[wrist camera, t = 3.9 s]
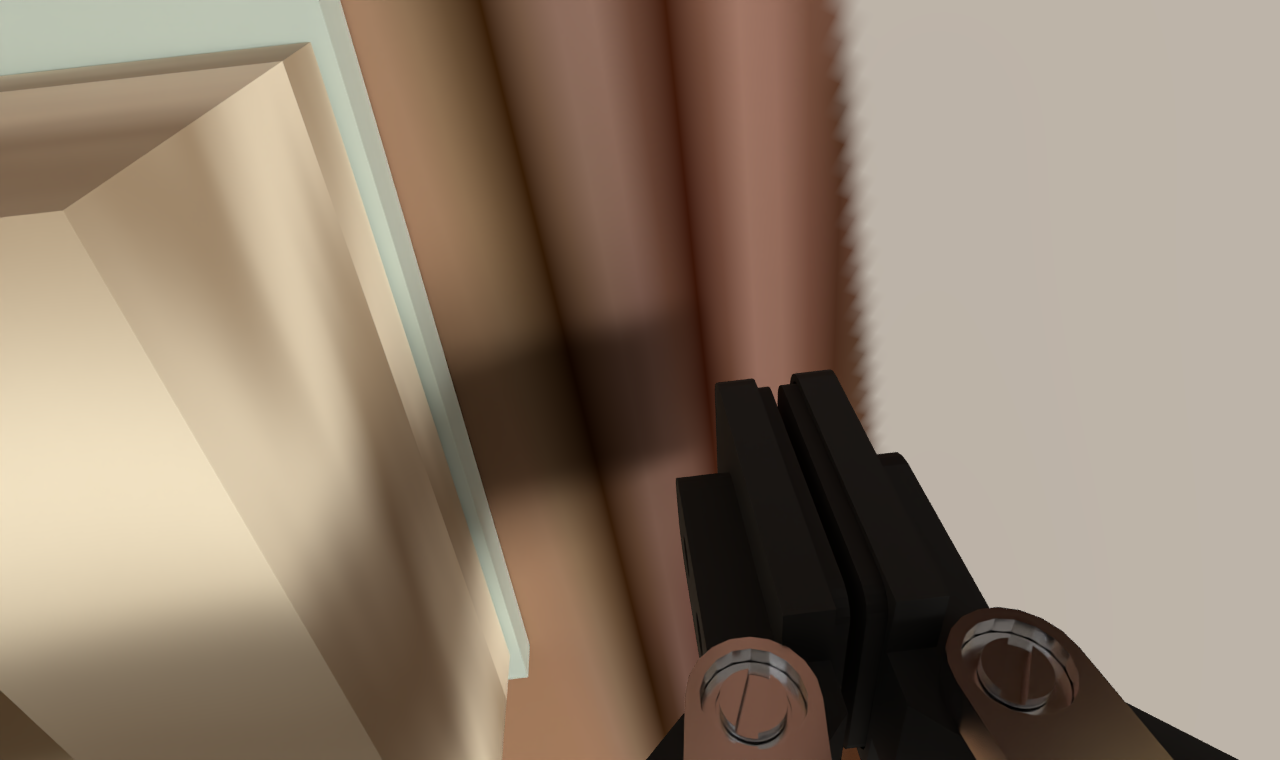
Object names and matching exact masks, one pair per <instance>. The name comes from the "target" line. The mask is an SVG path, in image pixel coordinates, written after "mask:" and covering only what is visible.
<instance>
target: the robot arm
mask: <svg viewBox="0 0 1280 760" xmlns="http://www.w3.org/2000/svg"><path fill="white" fill-rule="evenodd" d="M715 407H716V436H717V464H718V473H716V474H708V475H699V476H691V477H682V478H676V491H677V503H678V515H679V525H680V534H681V543H682V550H683V558H684V565H685V571H686V578H687V584H688V590H689V596H690V602H691V609H692V615H693V621H694V627H695V633H696V640H697V646H698V652H699V659H698V661H697V663H696V664H695V666H694V668H693V669H692V671H691V673H690V675H689V677H688V682H687V687H686V693H685V713H684V714H683V715H682V716H681V718H680V719H679V720H678V721H677V722H676V724H675V725H674V726H673V727H672V729H671V730H670V731H669V732H668V734H667V735H666V736H665V737H664V739H663V740H662V741H661V742H660V743H659V745H658V746H657V747H656V748H655V750H654V751H653V752H652V753H651V755H650V756H649V757H648V758H647V759H646V760H841V757H842V750H843V747H844V748H845V749H847V748H855V747H857V750H858V753H859V756H860V759H861V760H1238V759H1236V758H1234V757H1232V756H1230V755H1228V754H1226V753H1224V752H1222V751H1220V750H1218V749H1216V748H1214V747H1212V746H1210V745H1208V744H1206V743H1204V742H1202V741H1201V740H1199V739H1197V738H1195V737H1193V736H1191V735H1189V734H1187V733H1185V732H1183V731H1181V730H1179V729H1177V728H1175V727H1173V726H1171V725H1169V724H1167V723H1165V722H1163V721H1161V720H1159V719H1157V718H1155V717H1153V716H1151V715H1150V714H1148V713H1146V712H1144V711H1141V710H1140V709H1138V708H1136V707H1134V706H1132V705H1130V704H1128V703H1126V702H1125V701H1124V700H1123V699H1122V697H1121V696H1120V695H1119V694H1118V693H1117V692H1116V691H1115V689H1114V688H1113V687H1112V686H1111V685H1110V683H1109V682H1108V681H1107V680H1106V678H1105V677H1104V676H1103V675H1102V674H1101V672H1100V671H1099V670H1098V669H1097V668H1096V666H1095V665H1094V664H1093V663H1092V662H1091V661H1090V659H1089V658H1088V657H1087V656H1086V655H1085V653H1084V652H1083V651H1082V650H1081V648H1080V647H1078V645H1077V644H1076V643H1075V642H1073V641H1072V640H1071V639H1070V638H1069V637H1068V636H1067V635H1066V634H1065V633H1064V632H1063V631H1062V630H1060V629H1059V628H1057V627H1055V626H1054V625H1052V624H1050V623H1049V622H1047V621H1046V620H1044V619H1042V618H1040V617H1037V616H1035V615H1032V614H1029V613H1026V612H1024V611H1021V610H1016V609H1009V608H1002V607H993V608H989V607H988V605H987V603H986V601H985V599H984V598H983V596H982V594H981V592H980V591H979V589H978V587H977V585H976V584H975V582H974V580H973V578H972V576H971V575H970V573H969V571H968V569H967V568H966V566H965V564H964V562H963V560H962V559H961V557H960V555H959V553H958V552H957V550H956V548H955V546H954V544H953V543H952V541H951V539H950V537H949V536H948V534H947V532H946V530H945V528H944V527H943V525H942V523H941V521H940V519H939V518H938V516H937V514H936V512H935V511H934V509H933V507H932V505H931V503H930V502H929V500H928V498H927V496H926V495H925V493H924V491H923V489H922V487H921V486H920V484H919V482H918V480H917V479H916V477H915V475H914V473H913V472H912V470H911V468H910V466H909V464H908V463H907V461H906V460H905V459H904V457H903V456H902V455H901V454H899V453H898V452H895V453H885V454H876V452H875V450H874V448H873V446H872V444H871V443H870V441H869V439H868V437H867V435H866V433H865V431H864V429H863V427H862V425H861V423H860V421H859V419H858V417H857V416H856V414H855V412H854V410H853V408H852V406H851V404H850V402H849V400H848V398H847V396H846V394H845V392H844V390H843V388H842V387H841V385H840V383H839V381H838V379H837V377H836V375H835V373H834V372H833V371H832V370H822V371H813V372H805V373H796V374H793V375H792V377H791V381H790V384H787V385H780V386H779V389H778V407H777V404H776V402H775V399H774V396H773V394H772V391H771V389H770V387H762V388H758V387H757V385H756V382H755V380H754V379H745V380H736V381H728V382H719V383H716V384H715Z"/></svg>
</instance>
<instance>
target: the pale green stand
mask: <svg viewBox="0 0 1280 760" xmlns="http://www.w3.org/2000/svg"><path fill="white" fill-rule="evenodd" d="M305 42H311V45H312V48H313V51H314V54H315V57H316V60H317V63H318V66H319V70H320V73H321V76H322V79H323V82H324V85H325V88H326V91H327V94H328V97H329V100H330V103H331V106H332V110H333V113H334V116H335V119H336V122H337V125H338V128H339V131H340V134H341V137H342V140H343V143H344V146H345V149H346V153H347V156H348V159H349V162H350V165H351V168H352V171H353V174H354V177H355V180H356V183H357V186H358V189H359V193H360V196H361V199H362V202H363V205H364V208H365V211H366V214H367V217H368V220H369V223H370V226H371V229H372V233H373V236H374V239H375V242H376V245H377V248H378V251H379V254H380V257H381V260H382V263H383V266H384V269H385V273H386V276H387V279H388V282H389V285H390V288H391V291H392V294H393V297H394V300H395V303H396V306H397V309H398V313H399V316H400V319H401V322H402V325H403V328H404V331H405V334H406V337H407V340H408V343H409V346H410V349H411V352H412V356H413V359H414V362H415V365H416V368H417V371H418V374H419V377H420V380H421V383H422V386H423V389H424V392H425V396H426V399H427V402H428V405H429V408H430V411H431V414H432V417H433V420H434V423H435V426H436V429H437V432H438V436H439V439H440V442H441V445H442V448H443V451H444V454H445V457H446V460H447V463H448V466H449V469H450V472H451V476H452V479H453V482H454V485H455V488H456V491H457V494H458V497H459V500H460V503H461V506H462V509H463V512H464V516H465V519H466V522H467V525H468V528H469V531H470V534H471V537H472V540H473V543H474V546H475V549H476V552H477V555H478V559H479V562H480V565H481V568H482V571H483V574H484V577H485V580H486V583H487V586H488V589H489V592H490V595H491V599H492V602H493V605H494V608H495V611H496V614H497V617H498V620H499V623H500V626H501V629H502V632H503V635H504V639H505V642H506V645H507V648H508V651H509V654H510V662H509V675H508V679H516V678H525V677H528V669H529V650H530V645H529V641H528V638H527V634H526V631H525V628H524V624H523V621H522V617H521V614H520V611H519V607H518V604H517V600H516V597H515V594H514V590H513V587H512V583H511V580H510V577H509V573H508V570H507V566H506V563H505V560H504V556H503V553H502V549H501V546H500V543H499V539H498V536H497V532H496V529H495V526H494V522H493V519H492V515H491V512H490V509H489V505H488V502H487V498H486V495H485V492H484V488H483V485H482V481H481V478H480V475H479V471H478V468H477V464H476V461H475V458H474V454H473V451H472V447H471V444H470V441H469V437H468V434H467V430H466V427H465V424H464V420H463V417H462V413H461V410H460V407H459V403H458V400H457V396H456V393H455V390H454V386H453V383H452V379H451V376H450V373H449V369H448V366H447V362H446V359H445V356H444V352H443V349H442V345H441V342H440V339H439V335H438V332H437V328H436V325H435V322H434V318H433V315H432V311H431V308H430V305H429V301H428V298H427V294H426V291H425V288H424V284H423V281H422V277H421V274H420V271H419V267H418V264H417V260H416V257H415V254H414V250H413V247H412V243H411V240H410V237H409V233H408V230H407V226H406V223H405V220H404V216H403V213H402V209H401V206H400V203H399V199H398V196H397V192H396V189H395V186H394V182H393V179H392V175H391V172H390V169H389V165H388V162H387V158H386V155H385V152H384V148H383V145H382V141H381V138H380V135H379V131H378V128H377V124H376V121H375V118H374V114H373V111H372V107H371V104H370V101H369V97H368V94H367V90H366V87H365V84H364V80H363V77H362V73H361V70H360V67H359V63H358V60H357V56H356V53H355V50H354V46H353V43H352V39H351V36H350V33H349V29H348V26H347V22H346V19H345V16H344V12H343V9H342V5H341V2H340V0H0V76H5V75H14V74H23V73H32V72H42V71H51V70H60V69H69V68H78V67H87V66H96V65H105V64H114V63H123V62H133V61H142V60H151V59H160V58H169V57H178V56H187V55H196V54H205V53H214V52H223V51H233V50H242V49H251V48H260V47H269V46H278V45H287V44H296V43H305Z"/></svg>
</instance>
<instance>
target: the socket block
mask: <svg viewBox="0 0 1280 760" xmlns="http://www.w3.org/2000/svg"><path fill="white" fill-rule="evenodd" d="M509 662H510V654H509V651H508V648H507V645H506V642H505V639H504V635H503V632H502V629H501V626H500V623H499V620H498V617H497V614H496V611H495V608H494V605H493V602H492V599H491V595H490V592H489V589H488V586H487V583H486V580H485V577H484V574H483V571H482V568H481V565H480V562H479V559H478V555H477V552H476V549H475V546H474V543H473V540H472V537H471V534H470V531H469V528H468V525H467V522H466V519H465V516H464V512H463V509H462V506H461V503H460V500H459V497H458V494H457V491H456V488H455V485H454V482H453V479H452V476H451V472H450V469H449V466H448V463H447V460H446V457H445V454H444V451H443V448H442V445H441V442H440V439H439V436H438V432H437V429H436V426H435V423H434V420H433V417H432V414H431V411H430V408H429V405H428V402H427V399H426V396H425V392H424V389H423V386H422V383H421V380H420V377H419V374H418V371H417V368H416V365H415V362H414V359H413V356H412V352H411V349H410V346H409V343H408V340H407V337H406V334H405V331H404V328H403V325H402V322H401V319H400V316H399V313H398V309H397V306H396V303H395V300H394V297H393V294H392V291H391V288H390V285H389V282H388V279H387V276H386V273H385V269H384V266H383V263H382V260H381V257H380V254H379V251H378V248H377V245H376V242H375V239H374V236H373V233H372V229H371V226H370V223H369V220H368V217H367V214H366V211H365V208H364V205H363V202H362V199H361V196H360V193H359V189H358V186H357V183H356V180H355V177H354V174H353V171H352V168H351V165H350V162H349V159H348V156H347V153H346V149H345V146H344V143H343V140H342V137H341V134H340V131H339V128H338V125H337V122H336V119H335V116H334V113H333V110H332V106H331V103H330V100H329V97H328V94H327V91H326V88H325V85H324V82H323V79H322V76H321V73H320V70H319V66H318V63H317V60H316V57H315V54H314V51H313V48H312V45H311V42H305V43H296V44H287V45H278V46H269V47H260V48H251V49H242V50H233V51H223V52H214V53H205V54H196V55H187V56H178V57H169V58H160V59H151V60H142V61H133V62H123V63H114V64H105V65H96V66H87V67H78V68H69V69H60V70H51V71H42V72H32V73H23V74H14V75H5V76H0V760H502V753H503V740H504V727H505V714H506V701H507V688H508V675H509Z"/></svg>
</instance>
